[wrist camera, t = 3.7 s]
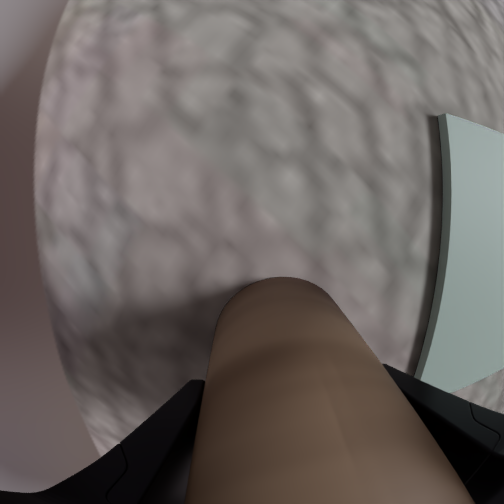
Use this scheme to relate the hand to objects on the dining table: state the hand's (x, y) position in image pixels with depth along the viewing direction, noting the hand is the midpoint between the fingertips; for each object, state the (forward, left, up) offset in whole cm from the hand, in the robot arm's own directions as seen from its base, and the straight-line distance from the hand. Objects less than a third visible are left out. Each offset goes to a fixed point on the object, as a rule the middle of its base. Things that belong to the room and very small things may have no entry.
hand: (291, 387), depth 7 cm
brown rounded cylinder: (0, 0, -3) cm, 3 cm away
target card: (+2, -14, -3) cm, 14 cm away
